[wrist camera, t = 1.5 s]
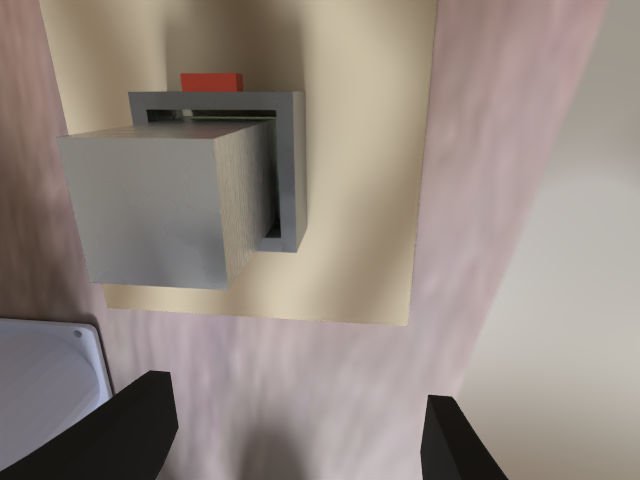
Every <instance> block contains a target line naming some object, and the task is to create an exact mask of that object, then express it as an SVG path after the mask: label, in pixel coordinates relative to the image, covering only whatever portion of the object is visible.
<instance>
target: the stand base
mask: <svg viewBox="0 0 640 480" xmlns="http://www.w3.org/2000/svg"><path fill="white" fill-rule="evenodd" d="M39 3H40V7H41V12H42V16H43V21H44V25H45V30H46V34H47V39H48V43H49V48H50V52H51V57H52V61H53V65H54V70H55V74H56V79H57V83H58V88H59V92H60V97H61V101H62V106H63V110H64V115H65V119H66V124H67V128H68V133H69V135H73V134H79V133H85V132H92V131H98V130H104V129H111V128H117V127H123V126H130V125H133V121H132V115H131V109H130V103H129V97H128V92H145V91H182V85H181V77H180V73H239V74H242V76H243V91H305V95H306V169H307V230H306V232H305V235H304V237H303V239H302V242H301V244H300V246H299V249H298V251H297V253H285V252H261V251H255V252H254V253H253V255H252V256H251V258H250V259H249V261H248V262H247V264H246V265H245V267H244V268H243V269H242V271H241V272H240V274H239V275H238V277H237V278H236V280H235V281H234V283H233V284H232V285H231V287H230V288H229V290H213V289H194V288H175V287H157V286H138V285H119V284H102V285H103V290H104V294H105V299H106V303H107V308H116V309H132V310H149V311H165V312H182V313H199V314H215V315H232V316H248V317H265V318H281V319H298V320H314V321H331V322H347V323H364V324H381V325H397V326H408V317H409V306H410V295H411V284H412V273H413V262H414V251H415V240H416V229H417V219H418V208H419V197H420V186H421V175H422V164H423V153H424V142H425V131H426V120H427V109H428V98H429V88H430V77H431V66H432V55H433V44H434V33H435V22H436V11H437V0H39ZM183 116H276V110H183Z"/></svg>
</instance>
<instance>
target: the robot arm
mask: <svg viewBox="0 0 640 480" xmlns="http://www.w3.org/2000/svg"><path fill="white" fill-rule="evenodd" d="M79 331H80V332H81V333H80V332H79ZM177 430H178V420H177V414H176V407H175V401H174V394H173V388H172V381H171V375H170V372H163V371H151V370H150V371H148V372H147V373H145V374H144V375H142V376H141V377H139V378H138V379H137V380H135V381H134V382H132V383H131V384H130V385H128V386H127V387H126V388H124V389H123V390H121V391H120V392H119V393H117V394H116V395H115V396H112V392H111V387H110V383H109V379H108V375H107V371H106V367H105V362H104V358H103V354H102V350H101V346H100V342H99V337H98V333H97V330H96V328H95V327H94V326H92V325H90V324H80V323H64V322H49V321H34V320H18V319H3V318H0V480H155V479H156V477H157V475H158V473H159V472H160V470H161V468H162V466H163V464H164V462H165V459H166V457H167V455H168V452H169V450H170V448H171V445H172V443H173V440H174V438H175V435H176V432H177ZM420 453H421V465H422V476H423V480H508V478H507V477H506V476H505V474H504V473H503V471H502V470H501V469H500V467H499V466H498V464H497V463H496V462H495V460H494V459H493V458H492V456H491V455H490V453H489V452H488V450H487V449H486V448H485V446H484V445H483V443H482V442H481V440H480V439H479V437H478V436H477V434H476V433H475V431H474V430H473V428H472V427H471V425H470V423H469V422H468V420H467V419H466V417H465V416H464V414H463V412H462V411H461V409H460V407H459V406H458V404H457V402H456V401H455V400H454V399H453V397H450V396H438V395H428V401H427V408H426V415H425V422H424V429H423V436H422V444H421V451H420Z"/></svg>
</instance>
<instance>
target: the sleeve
mask: <svg viewBox="0 0 640 480" xmlns="http://www.w3.org/2000/svg"><path fill="white" fill-rule="evenodd" d="M180 77H181V85H182V91H145V92H128V97H129V103H130V109H131V115H132V121H133V125H136V124H142V123H149V122H155V121H162V120H168V119H174V118H178V116H183V110H276V117H277V142H278V168H279V193H280V216H279V217H278V219H277V220H276V222H275V223H274V224H273V226H272V227H271V229H270V230H269V232H268V233H267V235H266V236H265V238H264V239H263V240H262V242H261V243H260V245H259V246H258V248H257V249H256V251H261V252H285V253H297V251H298V249H299V246H300V244H301V242H302V239H303V237H304V235H305V232H306V230H307V169H306V95H305V91H243V76H242V74H239V73H180Z"/></svg>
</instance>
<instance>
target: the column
mask: <svg viewBox="0 0 640 480" xmlns="http://www.w3.org/2000/svg"><path fill="white" fill-rule="evenodd" d="M56 139H57V143H58V147H59V151H60V156H61V160H62V164H63V168H64V173H65V177H66V181H67V185H68V190H69V194H70V198H71V202H72V207H73V211H74V215H75V219H76V224H77V228H78V232H79V236H80V241H81V245H82V249H83V254H84V258H85V262H86V266H87V271H88V275H89V279H90V283H101V284H119V285H138V286H157V287H175V288H194V289H213V290H229V288H230V287H231V285H232V284H233V283H234V281H235V280H236V278H237V277H238V275H239V274H240V272H241V271H242V269H243V268H244V267H245V265H246V264H247V262H248V261H249V259H250V258H251V256H252V255H253V253H254V252H255V251H256V249H257V248H258V246H259V245H260V243H261V242H262V240H263V239H264V238H265V236H266V235H267V233H268V232H269V230H270V229H271V227H272V226H273V224H274V223H275V222H276V220H277V219H278V217H279V216H280V193H279V168H278V142H277V117H276V116H178V118H174V119H168V120H162V121H155V122H149V123H142V124H136V125H130V126H123V127H117V128H111V129H104V130H98V131H92V132H85V133H79V134H73V135H66V136H60V137H56Z"/></svg>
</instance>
